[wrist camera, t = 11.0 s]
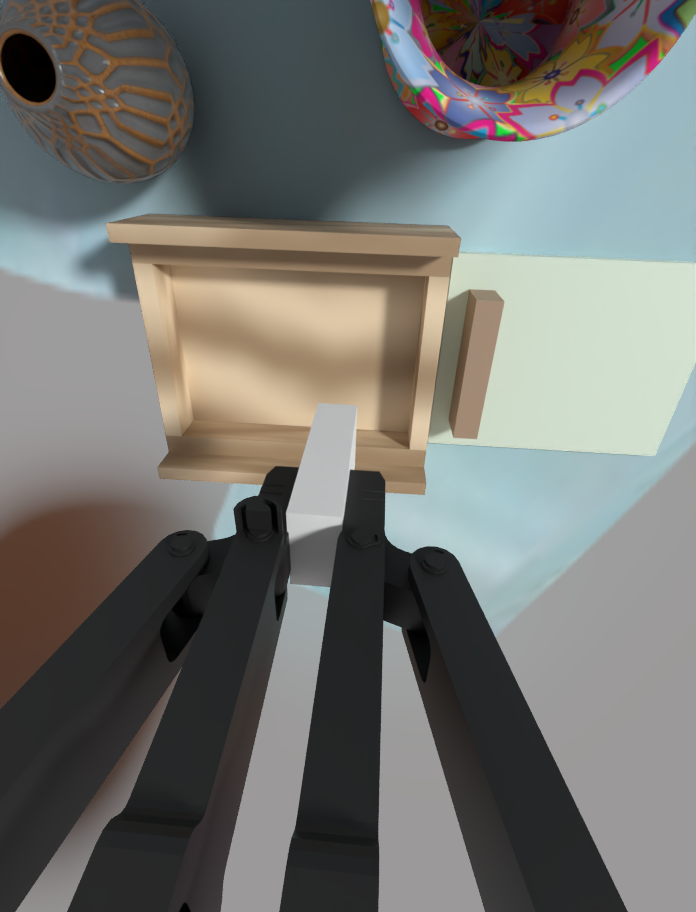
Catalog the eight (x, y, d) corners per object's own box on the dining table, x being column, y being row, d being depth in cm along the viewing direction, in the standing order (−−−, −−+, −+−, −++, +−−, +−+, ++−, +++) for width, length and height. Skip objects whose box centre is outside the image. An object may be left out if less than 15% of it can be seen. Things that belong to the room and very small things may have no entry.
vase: (61, 142, 24) (-81, 133, 17) (77, -31, 21) (-92, -139, 13) (192, 204, 25) (113, 222, 18) (228, 50, 22) (149, -7, 15)
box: (149, 213, 26) (105, 223, 22) (448, 225, 25) (460, 238, 21) (187, 439, 33) (159, 478, 29) (419, 453, 33) (424, 494, 28)
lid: (451, 249, 26) (460, 261, 23) (723, 261, 26) (769, 275, 23) (426, 433, 32) (430, 462, 29) (646, 446, 32) (673, 476, 29)
